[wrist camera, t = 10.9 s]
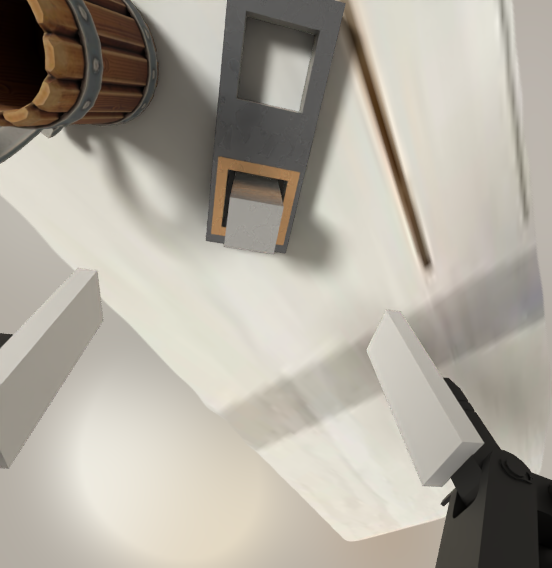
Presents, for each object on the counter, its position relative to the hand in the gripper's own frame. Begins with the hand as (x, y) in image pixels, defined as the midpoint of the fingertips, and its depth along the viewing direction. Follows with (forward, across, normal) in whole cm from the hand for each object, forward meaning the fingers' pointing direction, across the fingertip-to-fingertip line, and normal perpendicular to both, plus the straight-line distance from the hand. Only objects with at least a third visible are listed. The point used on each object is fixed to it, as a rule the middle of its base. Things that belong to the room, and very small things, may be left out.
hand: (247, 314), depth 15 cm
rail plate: (+23, 0, +5) cm, 23 cm away
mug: (+23, -16, +6) cm, 29 cm away
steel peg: (+23, 0, -1) cm, 23 cm away
